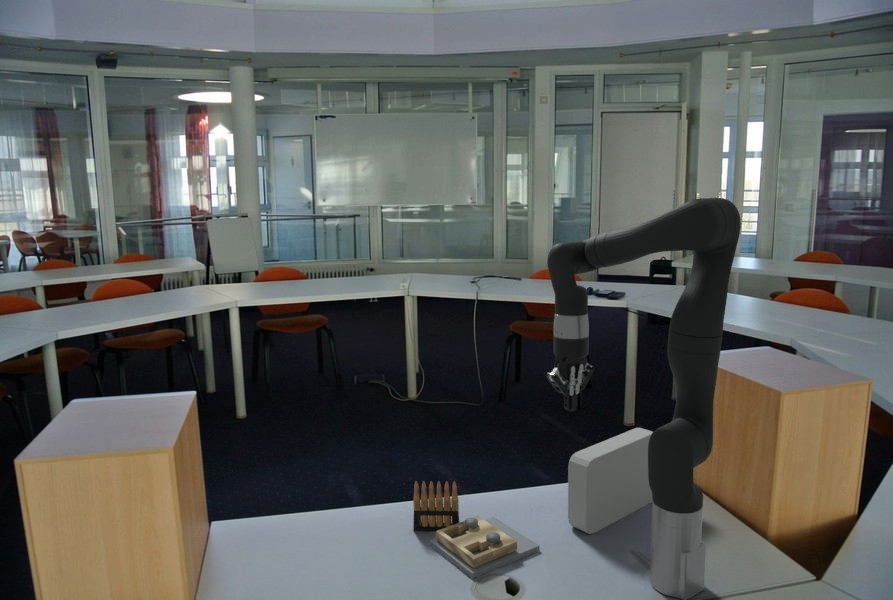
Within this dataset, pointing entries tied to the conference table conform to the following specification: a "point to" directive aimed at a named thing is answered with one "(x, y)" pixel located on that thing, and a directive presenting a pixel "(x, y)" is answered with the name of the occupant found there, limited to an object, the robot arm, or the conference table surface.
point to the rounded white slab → (608, 481)
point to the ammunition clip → (435, 508)
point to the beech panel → (475, 542)
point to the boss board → (523, 549)
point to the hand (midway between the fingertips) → (570, 410)
